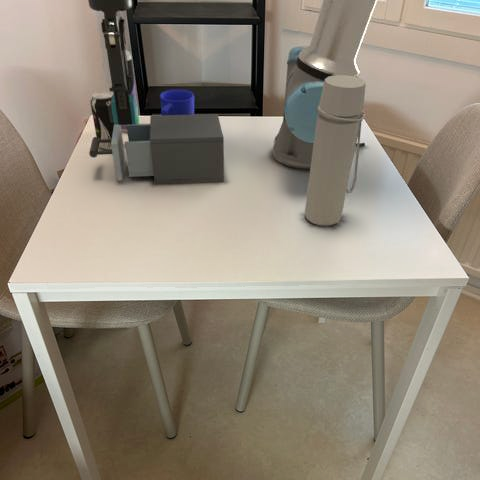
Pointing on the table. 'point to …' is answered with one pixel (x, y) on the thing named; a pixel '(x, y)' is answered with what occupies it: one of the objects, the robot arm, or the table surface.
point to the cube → (132, 106)
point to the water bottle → (334, 148)
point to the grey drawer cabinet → (187, 148)
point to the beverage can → (103, 116)
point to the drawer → (128, 150)
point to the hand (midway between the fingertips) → (126, 119)
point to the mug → (177, 102)
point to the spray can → (132, 87)
